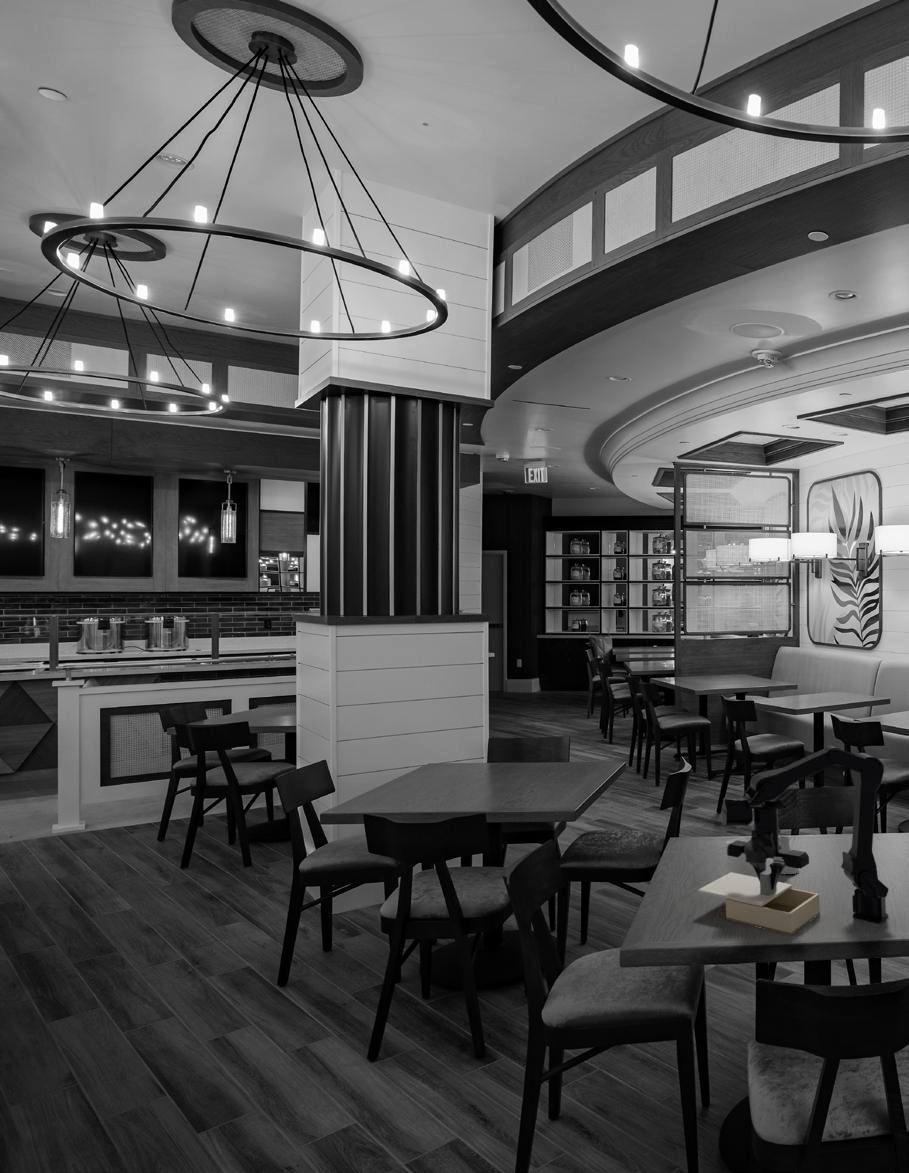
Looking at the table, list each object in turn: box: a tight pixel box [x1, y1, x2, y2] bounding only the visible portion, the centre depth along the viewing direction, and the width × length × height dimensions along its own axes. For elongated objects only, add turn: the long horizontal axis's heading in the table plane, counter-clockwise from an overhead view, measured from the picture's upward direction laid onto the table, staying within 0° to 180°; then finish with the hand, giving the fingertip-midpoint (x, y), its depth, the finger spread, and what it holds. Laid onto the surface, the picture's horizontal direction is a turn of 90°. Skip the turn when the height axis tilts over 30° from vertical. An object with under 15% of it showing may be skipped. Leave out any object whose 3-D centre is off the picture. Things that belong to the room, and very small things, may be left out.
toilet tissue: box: [725, 837, 768, 878], centre depth 239 cm, size 11×12×10 cm
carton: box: [725, 887, 821, 936], centre depth 209 cm, size 16×18×5 cm
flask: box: [779, 835, 800, 876], centre depth 244 cm, size 7×7×10 cm
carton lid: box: [697, 868, 793, 906], centre depth 214 cm, size 16×18×6 cm
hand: (768, 888), depth 210 cm, fingers closed on carton lid, 2 cm apart
